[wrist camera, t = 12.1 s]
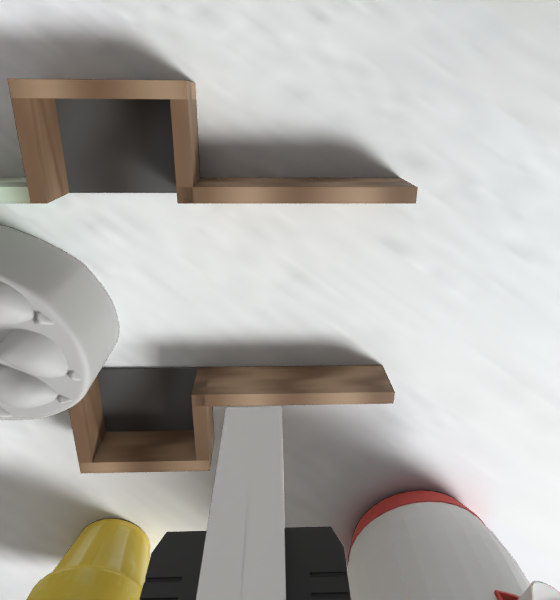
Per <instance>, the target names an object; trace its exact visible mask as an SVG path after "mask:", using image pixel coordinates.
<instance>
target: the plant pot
mask: <svg viewBox="0 0 560 600" xmlns="http://www.w3.org/2000/svg"><path fill="white" fill-rule="evenodd" d="M149 561H150V544H149V540H148V538H147V536H146V534H145V533H144V532H143V531H142V530H141V529H140V528H139V527H137V526H136V525H134V524H132V523H130V522H127V521H124V520H120V519H103V520H99V521H96V522H93V523H91V524H90V525H88V526H87V527H86V528H85V529H84V530H83V531H82V532H81V534H80V535H79V537H78V538H77V540H76V541H75V542H74V544H73V545H72V546H71V548H70V549H69V550H68V552H67V553H66V555H65V556H64V557H63V559H62V560H61V561H60V563H59V564H58V565H57V567H56V568H55V569H54V571H53V572H52V573H50V574H48V575H47V576H45V577H44V578H42V579H41V580H40V581H39V582H38V583H37V584H36V585H35V587H34V588H33V589H32V591H31V593H30V594H29V596H28V598H27V600H140V595H141V591H142V588H143V584H144V583H145V576H146V573H147V569H148V565H149Z"/></svg>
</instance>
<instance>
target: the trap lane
mask: <svg viewBox="0 0 560 600" xmlns="http://www.w3.org/2000/svg"><path fill="white" fill-rule="evenodd" d="M8 84H9V90H10V95H11V101H12V106H13V111H14V117H15V122H16V127H17V133H18V138H19V144H20V149H21V154H22V160H23V165H24V171H25V176H26V177H0V203H49V202H51V201H53V200H55V199H57V198H59V197H61V196H63V195H66V194H68V193H177V202H178V203H416V196H417V188H418V187H416V186H414V185H412V184H411V183H409V182H407V181H405V180H403V179H401V178H200V164H199V145H198V127H197V108H196V89H195V83H194V82H190V81H187V80H85V79H8ZM394 393H395V392H394V390H393V387H392V385H391V383H390V381H389V379H388V376H387V374H386V372H385V370H384V368H383V366H382V365H344V366H263V367H182V368H101V370H100V371H99V373H98V375H97V376H96V378H95V380H94V381H93V383H92V385H91V386H90V388H89V390H88V391H87V393H86V394H85V396H84V397H83V398H82V399H81V400H80V401H79V402H78V403H77V404H75V405H74V406H72V407H71V408H69V413H70V418H71V424H72V429H73V434H74V440H75V445H76V451H77V456H78V461H79V467H80V472H81V473H118V472H168V471H210V465H211V458H212V450H213V443H214V425H213V407H212V406H255V405H321V404H387V403H393V402H394Z"/></svg>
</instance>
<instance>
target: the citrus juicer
mask: <svg viewBox="0 0 560 600" xmlns="http://www.w3.org/2000/svg"><path fill="white" fill-rule="evenodd" d="M347 576H348V581H349V588H350V597H351V600H560V593H559V592H558V591H557V590H556V589H555V588H553V587H552V586H550V585H548V584H546V583H543V582H540V581H533V582H532V583H531V584H530V583H529V581H528V580H527V578H526V577H525V575H524V574H523V572H522V570H521V569H520V567H519V566H518V564H517V562H516V561H515V559H514V558H513V557H512V556H511V554H510V553H509V552H508V551H507V549H506V548H505V547H504V546H503V545H502V543H501V542H500V541H499V540H498V538H497V537H496V536H495V535H494V534H493V533H492V532H491V531H490V530H489V529H488V528H487V527H486V526H485V524H484V523H483V522H482V521H481V519H480V518H479V517H478V516H477V515H476V514H474V513H473V512H472V511H471V510H469V509H468V508H467V507H465V506H464V505H463V504H461V503H460V502H458V501H457V500H456V499H454V498H452V497H450V496H448V495H445V494H443V493H438V492H434V491H422V490H419V491H408V492H404V493H400V494H396V495H394V496H391V497H389V498H386V499H384V500H382V501H381V502H379V503H377V504H376V505H374V506H373V507H372V508H371V509H370V510H368V511H367V512H366V513H365V514H364V516H363V517H362V518H361V520H360V521H359V523H358V525H357V527H356V529H355V531H354V535H353V538H352V542H351V547H350V551H349V555H348V571H347Z"/></svg>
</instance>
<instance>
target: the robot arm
mask: <svg viewBox="0 0 560 600" xmlns="http://www.w3.org/2000/svg"><path fill="white" fill-rule="evenodd" d="M140 600H351V597H350V588H349V581H348V576H347V568H346V561H345V554H344V548H343V546H342V544H341V542H340V541H339V539H338V538H337V536H336V534H335V533H334V531H333V530H332V528H331V527H296V528H285V516H284V471H283V431H282V406H259V407H226V411H225V417H224V424H223V430H222V437H221V443H220V449H219V456H218V462H217V469H216V475H215V481H214V488H213V494H212V500H211V507H210V513H209V520H208V526H207V531H186V532H167V533H166V534H165V535H164V537H163V538H162V540H161V541H160V542H159V544H158V545H157V546H156V548H155V549H154V551H153V552H152V554H151V558H150V561H149V565H148V569H147V573H146V576H145V583H144V584H143V588H142V591H141V595H140Z"/></svg>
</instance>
